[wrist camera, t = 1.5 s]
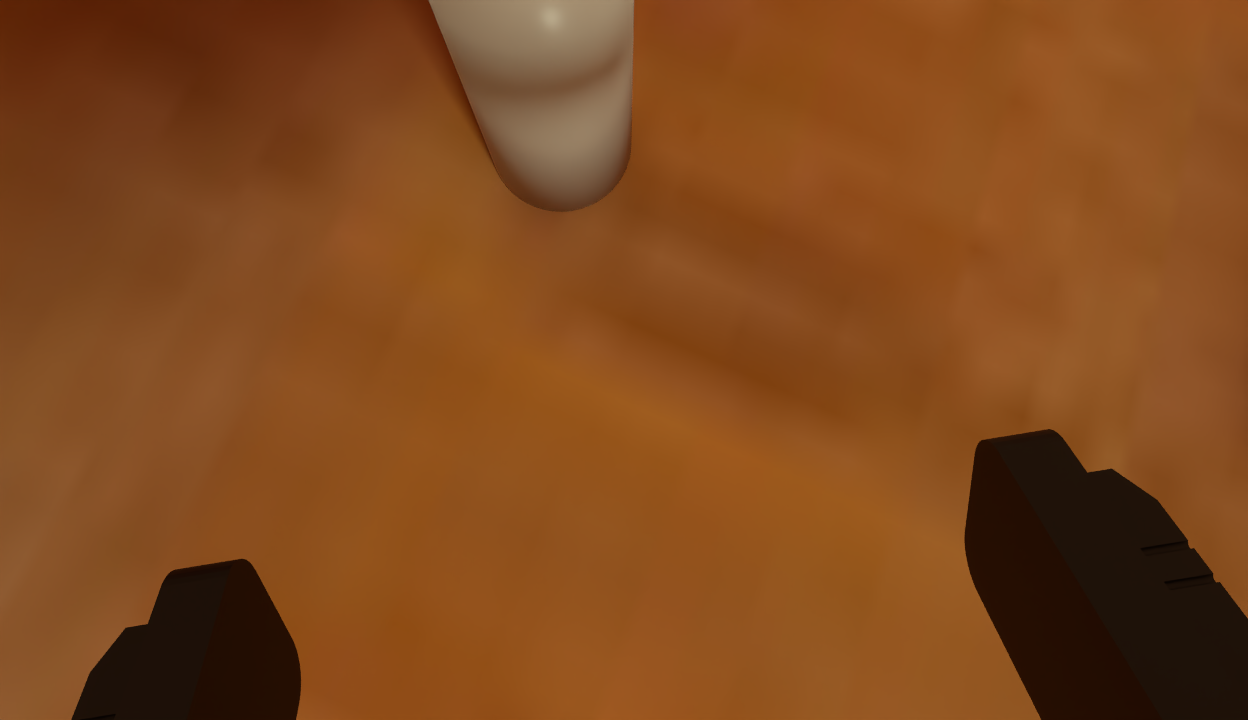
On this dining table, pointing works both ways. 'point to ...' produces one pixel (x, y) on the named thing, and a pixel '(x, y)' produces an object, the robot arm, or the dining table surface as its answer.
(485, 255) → the dining table surface
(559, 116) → the cream candle
